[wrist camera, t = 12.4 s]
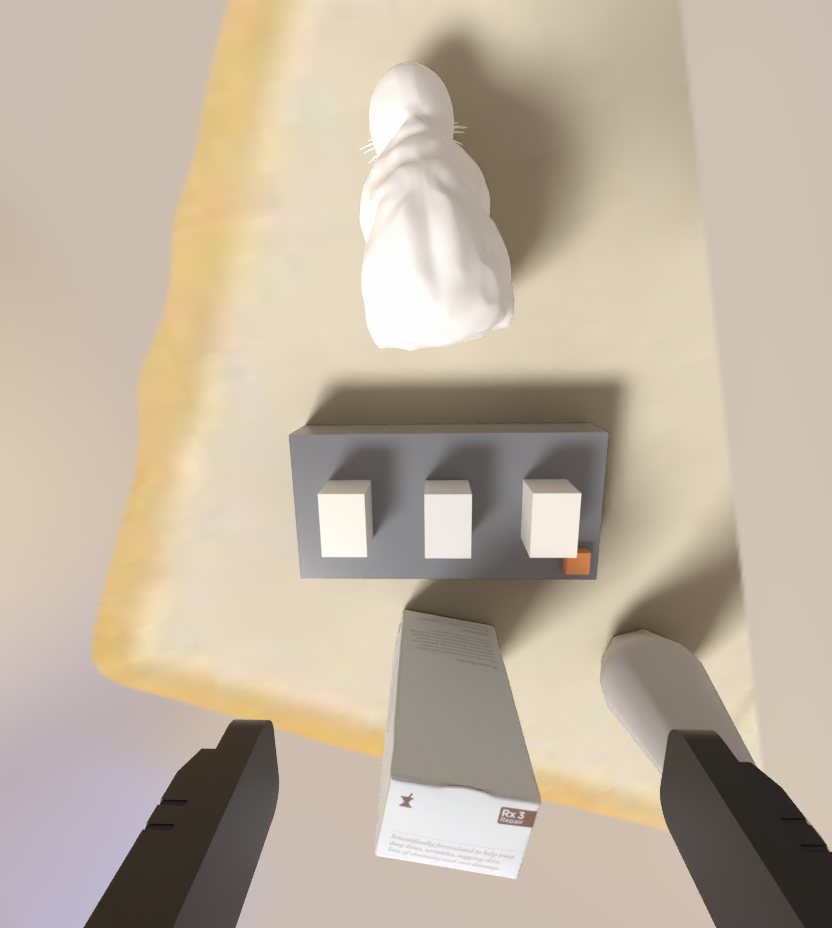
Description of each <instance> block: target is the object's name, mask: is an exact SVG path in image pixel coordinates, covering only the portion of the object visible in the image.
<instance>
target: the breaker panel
mask: <svg viewBox="0 0 832 928" xmlns="http://www.w3.org/2000/svg"><path fill="white" fill-rule="evenodd" d="M608 436H609V432H607V431H605V430H603V429H601V428H599V427H597V426H595V425H593V424H590V423H513V424H402V425H305V426H303V427H301V428H300V429H298V430H296V431H295V432H293V433H291V434H289V442H290V454H291V466H292V478H293V491H294V503H295V515H296V527H297V539H298V551H299V563H300V576H301V578H353V579H583V580H596V575H597V563H598V552H599V540H600V528H601V517H602V505H603V494H604V482H605V471H606V459H607V447H608ZM425 480H468V481H469V485H470V489H471V492H472V530H471V558H425V519H424V490H425Z"/></svg>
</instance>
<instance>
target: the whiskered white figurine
mask: <svg viewBox="0 0 832 928" xmlns="http://www.w3.org/2000/svg"><path fill="white" fill-rule="evenodd" d="M455 123H458V122H454V114H453V107H452V102H451V99H450V96H449V93H448V91H447V88H446V86H445V85H444V83H443V81H442V80H441V79H440V77H439V76H438V75H437V74H436V73H434V72H433V71H432V70H431V69H429V68H428V67H426V66H424V65H422V64H419V63H415V62H404V63H400V64H397V65H395V66H394V67H392V68H391V69H389V70H388V71H387V72H386V73H385V74H384V75H383V76H382V78H381V79H380V80H379V82H378V84H377V85H376V87H375V89H374V91H373V94H372V97H371V101H370V107H369V126H370V133H371V139H369V140H367V141H372V142H371V143H369V144H367V145H365V146H363V147H362V148H361V149H363V148H365V147H368V146H371V145H374V147H372V148H370V149H368V150H366V152H368V151H370V150H373V149H375V150H376V153H377V154H376V155H375V156H374V157H373V158H372V159H371V160H370V162H372V161H373V160H374V159H375V160H376V158H377V157H378V159H377V160H376V162H375V161H374V162H375V164H374V165H373V167H372V169H371V171H370V173H369V176H368V178H367V180H366V182H365V184H364V187H363V190H362V195H361V209H360V224H361V228H362V231H363V234H364V238H365V242H366V247H365V251H364V260H363V266H362V276H361V287H362V295H363V299H364V303H365V314H366V322H367V327H368V329H369V331H370V334H371V337H372V339H373V340H374V342H375V343H376V344H377V346H378V347H379V348H389V347H393V348H402V349H406V350H410V351H413V350H416V349H419V348H426V347H443V346H450V345H454V344H457V343H460V342H464V341H468V340H472V339H477V338H481V337H483V336H485V335H486V334H488V333H490V332H492V331H495V330H498V329H503V328H507V327H508V326H509V325H510V323H511V320H512V318H513V314H514V294H513V287H512V283H511V265H510V259H509V255H508V252H507V249H506V246H505V244H504V241H503V239H502V237H501V235H500V233H499V231H498V229H497V227H496V225H495V223H494V222H493V220H492V219H491V218H490V195H489V190H488V188H487V186H486V182H485V179H484V176H483V174H482V172H481V170H480V168H479V166H478V165H477V164H476V163H475V161H474V160H473V159H472V158H471V157H470V156H469V155H468V154H467V153H466V152H465V151H464V150H463V149H462V148H461V147H460V146H459V145H458V144H461V143H460V142H458V141H456V140H453V136H454V133H465V132H462V131H454V129H456V128H467V127H464V126H454V124H455ZM456 143H457V144H456ZM461 145H463V144H461ZM366 152H364V153H366ZM370 162H369V163H370ZM369 163H368V164H369Z"/></svg>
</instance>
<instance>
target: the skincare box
mask: <svg viewBox="0 0 832 928" xmlns="http://www.w3.org/2000/svg"><path fill="white" fill-rule="evenodd" d="M540 804H541V797H540V793H539V790H538V786H537V783H536V780H535V776H534V773H533V769H532V765H531V762H530V758H529V754H528V751H527V747H526V743H525V740H524V736H523V732H522V728H521V725H520V721H519V717H518V714H517V710H516V706H515V702H514V699H513V695H512V691H511V687H510V683H509V680H508V676H507V672H506V669H505V665H504V662H503V658H502V654H501V651H500V647H499V643H498V639H497V635H496V631H495V628H494V627H493V626H491V625H486V624H480V623H475V622H469V621H464V620H458V619H453V618H447V617H442V616H437V615H431V614H426V613H420V612H415V611H409V610H403V612H402V616H401V621H400V625H399V630H398V634H397V639H396V644H395V649H394V655H393V660H392V674H391V684H390V694H389V704H388V714H387V723H386V734H385V745H384V755H383V764H382V774H381V785H380V795H379V810H378V817H377V825H376V834H375V854H376V856H381V857H388V858H394V859H401V860H406V861H412V862H418V863H424V864H430V865H437V866H443V867H448V868H454V869H460V870H466V871H472V872H478V873H483V874H490V875H497V876H502V877H507V878H512V879H517V878H518V875H519V872H520V868H521V865H522V862H523V858H524V855H525V851H526V848H527V845H528V842H529V839H530V835H531V832H532V829H533V826H534V822H535V819H536V816H537V813H538V810H539V807H540Z"/></svg>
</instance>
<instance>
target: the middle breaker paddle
mask: <svg viewBox="0 0 832 928" xmlns="http://www.w3.org/2000/svg"><path fill="white" fill-rule="evenodd" d="M424 519H425V558H471V530H472V492H471V489H470V485H469V481H468V480H425V490H424Z"/></svg>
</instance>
